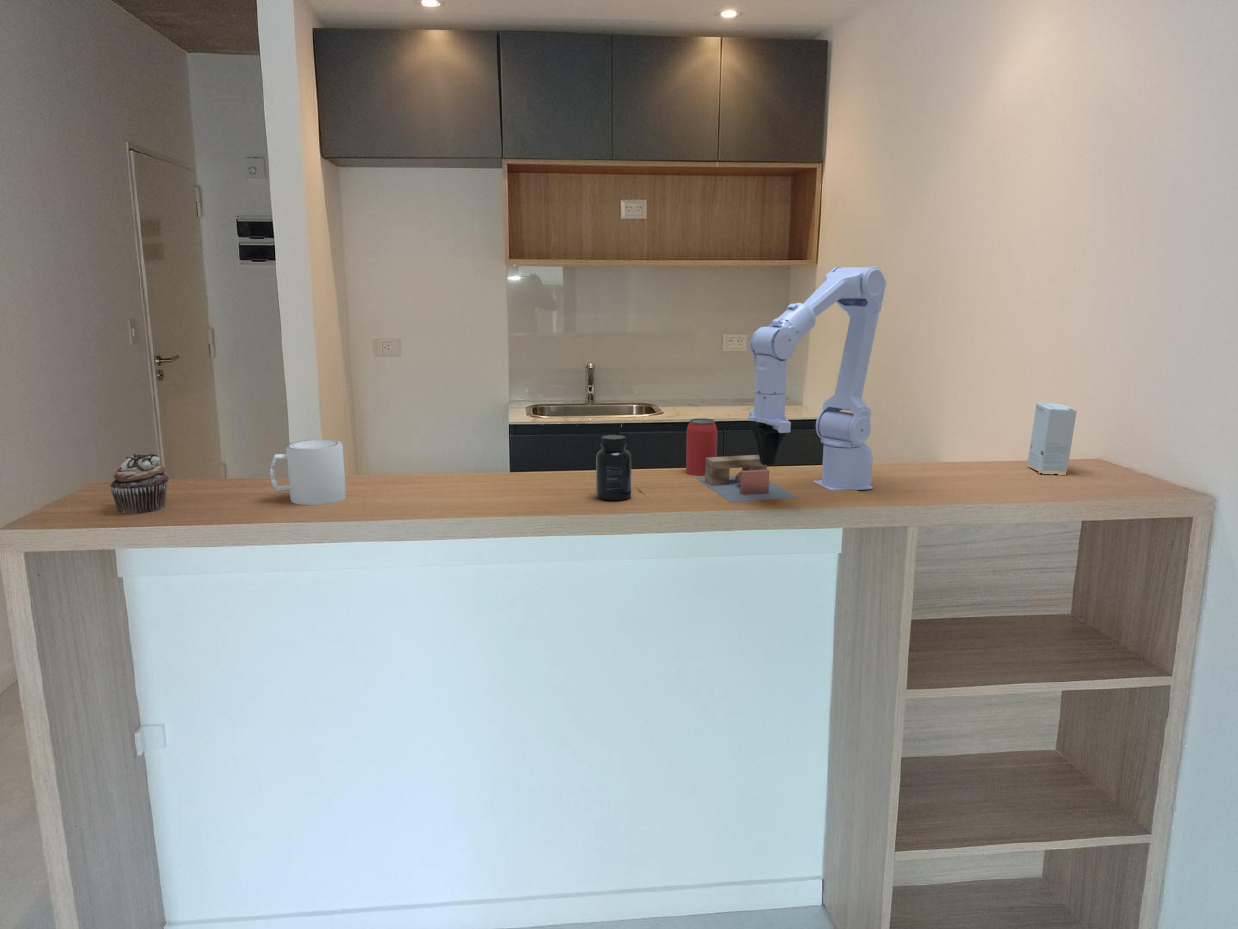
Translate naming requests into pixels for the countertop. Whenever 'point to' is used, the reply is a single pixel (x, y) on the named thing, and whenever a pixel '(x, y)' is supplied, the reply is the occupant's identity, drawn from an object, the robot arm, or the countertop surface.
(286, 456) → the mug
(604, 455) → the supplement bottle
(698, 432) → the beer can
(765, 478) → the pin
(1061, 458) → the skincare box
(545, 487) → the countertop surface
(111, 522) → the countertop surface
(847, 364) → the robot arm
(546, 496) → the countertop surface
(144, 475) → the cupcake
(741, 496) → the mat
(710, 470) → the block
